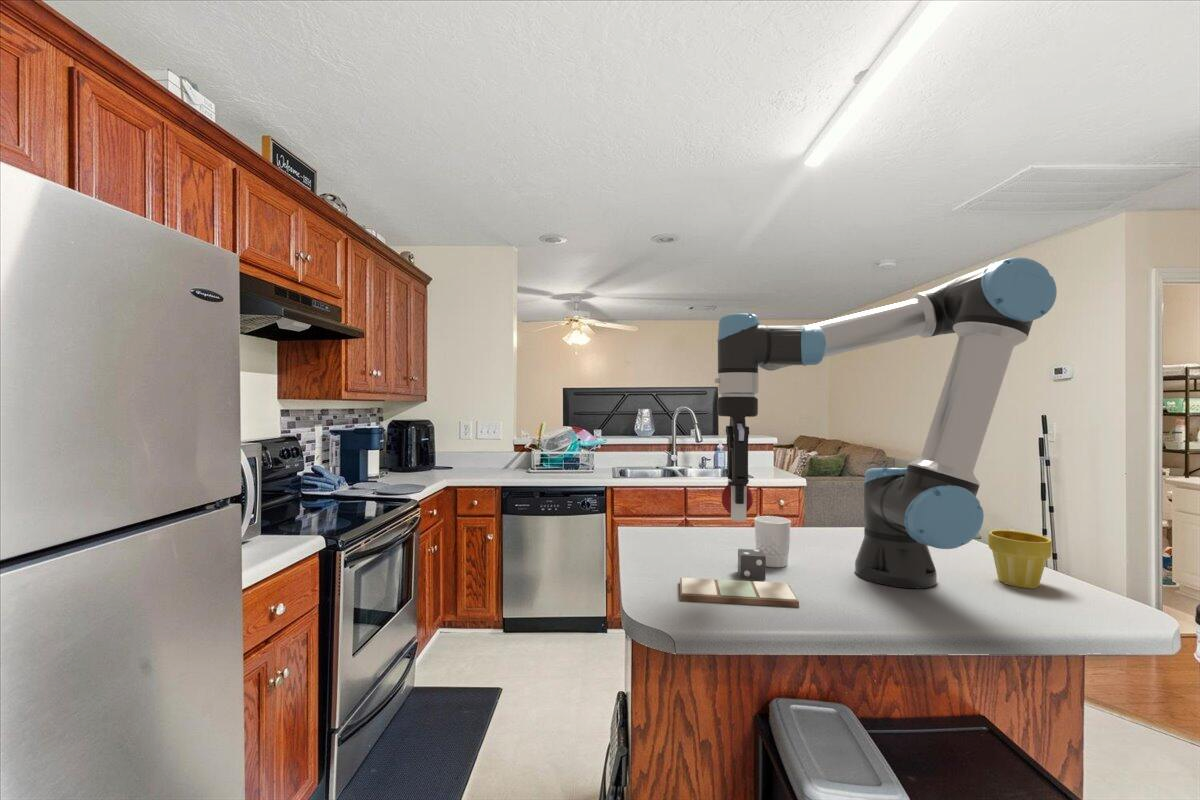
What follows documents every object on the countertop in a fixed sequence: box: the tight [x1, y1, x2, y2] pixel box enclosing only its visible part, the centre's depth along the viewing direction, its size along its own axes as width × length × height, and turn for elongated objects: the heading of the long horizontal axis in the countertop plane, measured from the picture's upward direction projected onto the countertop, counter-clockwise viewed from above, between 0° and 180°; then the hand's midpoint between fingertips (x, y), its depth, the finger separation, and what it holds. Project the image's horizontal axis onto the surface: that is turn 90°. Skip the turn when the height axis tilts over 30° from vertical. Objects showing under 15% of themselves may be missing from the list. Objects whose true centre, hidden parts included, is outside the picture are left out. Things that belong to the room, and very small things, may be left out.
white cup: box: [754, 515, 792, 568], centre depth 124 cm, size 8×8×10 cm
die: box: [737, 548, 767, 581], centre depth 115 cm, size 5×5×5 cm
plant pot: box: [987, 529, 1053, 589], centre depth 111 cm, size 10×10×10 cm
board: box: [679, 577, 800, 608], centre depth 103 cm, size 21×10×1 cm, turn 82°
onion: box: [721, 484, 754, 515], centre depth 104 cm, size 6×6×8 cm
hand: (736, 516), depth 104 cm, fingers closed on onion, 6 cm apart
